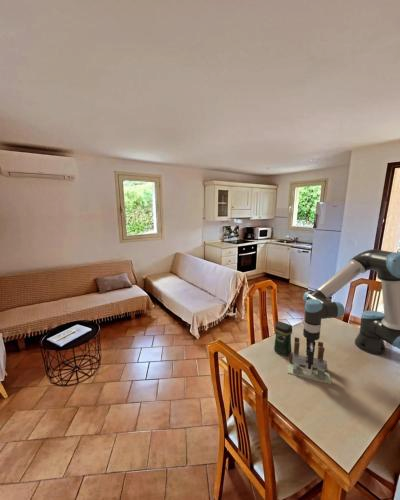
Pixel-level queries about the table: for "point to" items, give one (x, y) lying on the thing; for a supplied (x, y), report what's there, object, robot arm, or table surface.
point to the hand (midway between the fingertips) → (308, 370)
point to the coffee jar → (283, 338)
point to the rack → (296, 350)
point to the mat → (316, 374)
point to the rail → (302, 360)
